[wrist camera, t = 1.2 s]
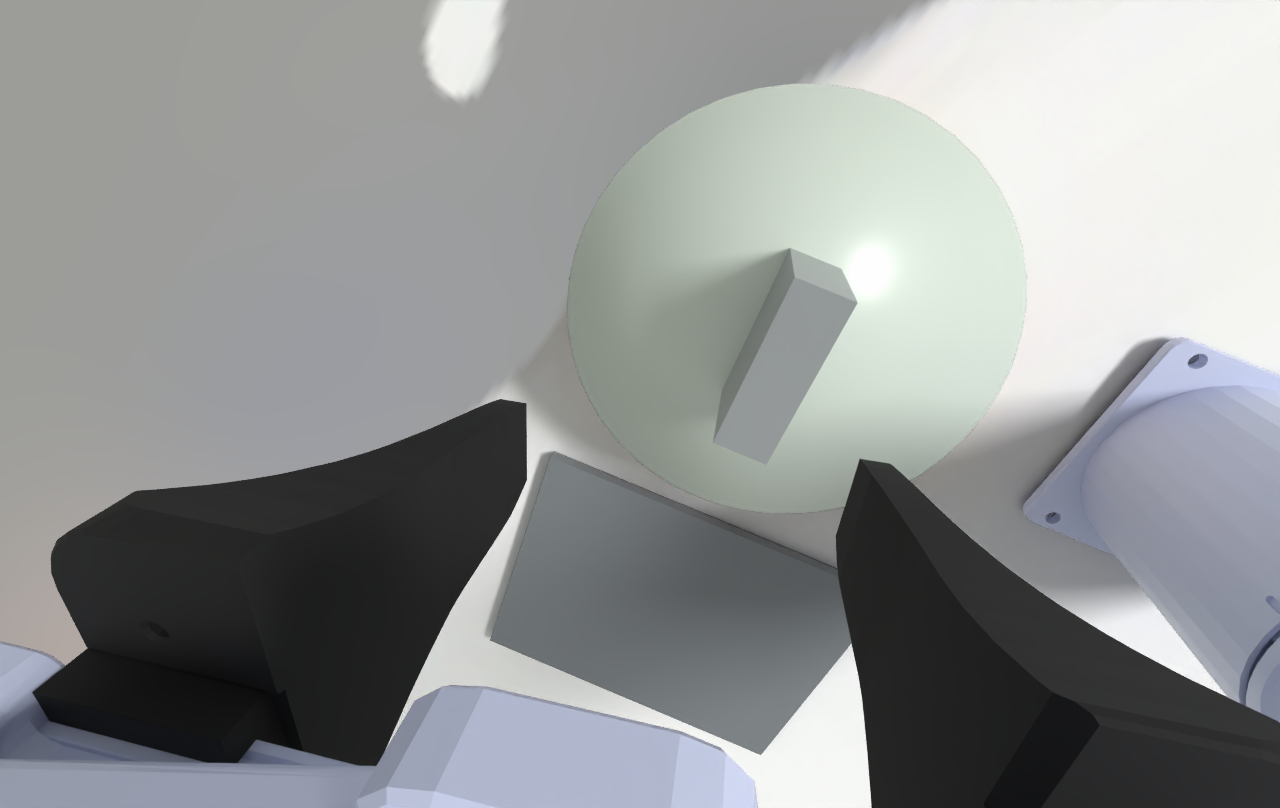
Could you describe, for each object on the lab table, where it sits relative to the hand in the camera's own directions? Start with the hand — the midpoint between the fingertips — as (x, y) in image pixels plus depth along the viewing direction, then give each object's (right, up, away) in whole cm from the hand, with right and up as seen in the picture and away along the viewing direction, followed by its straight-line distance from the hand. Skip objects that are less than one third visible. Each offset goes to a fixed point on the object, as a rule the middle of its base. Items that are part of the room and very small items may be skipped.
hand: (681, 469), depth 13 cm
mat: (+1, -9, +16) cm, 19 cm away
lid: (+4, +4, +6) cm, 8 cm away
